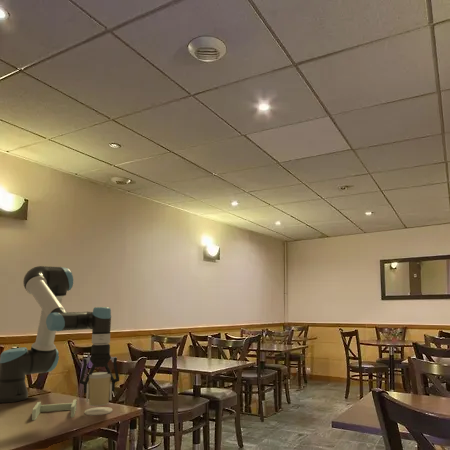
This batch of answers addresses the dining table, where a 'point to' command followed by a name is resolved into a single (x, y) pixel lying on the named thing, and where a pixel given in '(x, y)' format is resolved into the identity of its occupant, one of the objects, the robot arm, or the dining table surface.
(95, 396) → the coffee cup
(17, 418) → the dining table surface
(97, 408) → the coaster
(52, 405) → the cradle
